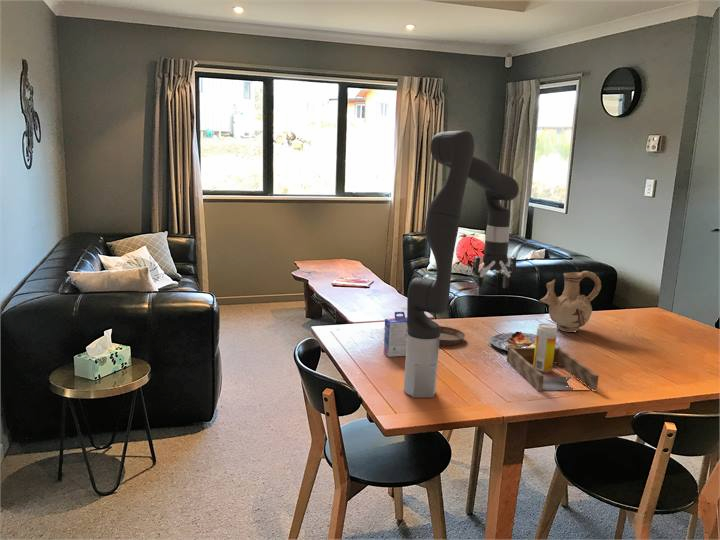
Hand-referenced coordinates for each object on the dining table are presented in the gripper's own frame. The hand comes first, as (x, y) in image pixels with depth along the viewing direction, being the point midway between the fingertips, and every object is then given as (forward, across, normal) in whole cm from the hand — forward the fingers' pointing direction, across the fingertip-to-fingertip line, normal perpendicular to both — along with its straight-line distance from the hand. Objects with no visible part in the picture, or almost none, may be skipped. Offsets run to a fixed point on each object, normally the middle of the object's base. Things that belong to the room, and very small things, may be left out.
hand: (492, 287), depth 194 cm
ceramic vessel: (+26, +47, +33) cm, 63 cm away
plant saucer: (+26, -10, +21) cm, 34 cm away
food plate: (+26, +19, +11) cm, 34 cm away
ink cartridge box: (+25, -29, +6) cm, 39 cm away
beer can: (+25, +15, -11) cm, 31 cm away
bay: (+25, +15, -16) cm, 33 cm away
